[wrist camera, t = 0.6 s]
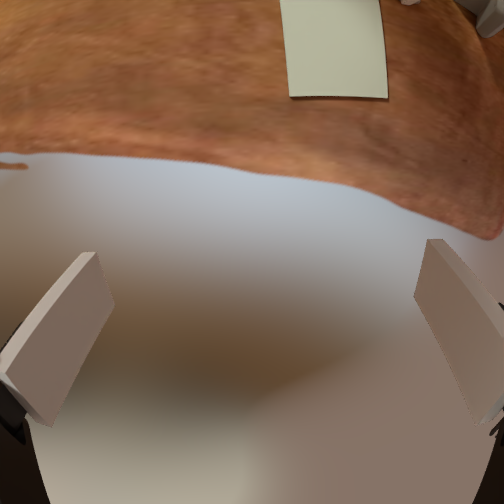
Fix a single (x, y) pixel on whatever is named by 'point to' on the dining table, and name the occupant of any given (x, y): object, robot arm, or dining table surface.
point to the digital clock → (486, 15)
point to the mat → (334, 48)
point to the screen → (410, 2)
